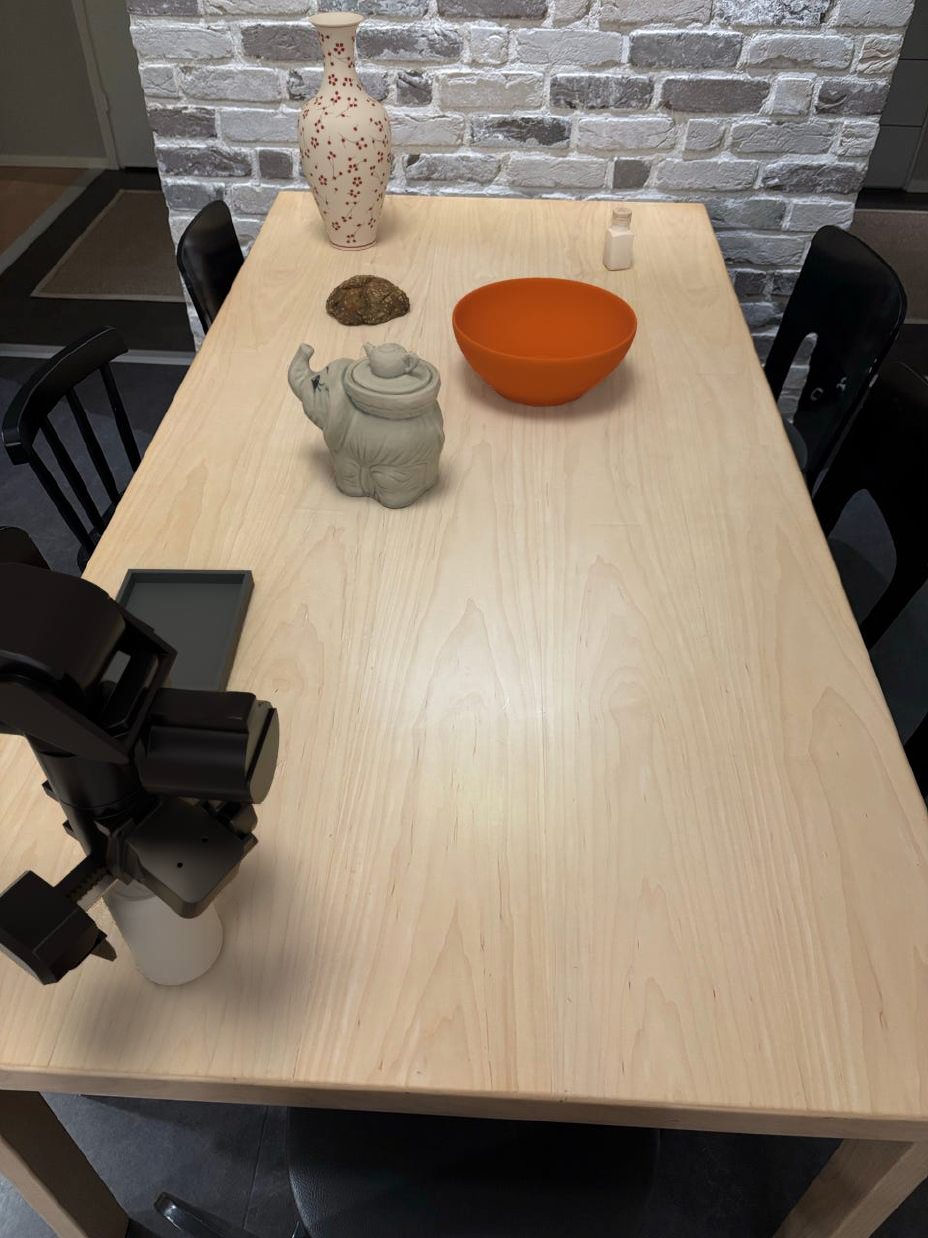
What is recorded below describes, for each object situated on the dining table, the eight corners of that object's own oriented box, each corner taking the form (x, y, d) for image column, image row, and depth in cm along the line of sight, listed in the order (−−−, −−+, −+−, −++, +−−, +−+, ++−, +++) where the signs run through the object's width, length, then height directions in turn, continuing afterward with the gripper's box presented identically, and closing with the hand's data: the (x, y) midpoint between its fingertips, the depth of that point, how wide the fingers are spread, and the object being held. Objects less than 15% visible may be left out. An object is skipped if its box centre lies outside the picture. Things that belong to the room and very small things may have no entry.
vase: (363, 266, 160) (347, 32, 136) (291, 247, 166) (262, 20, 142) (413, 235, 170) (406, 13, 146) (343, 219, 176) (325, 3, 152)
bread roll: (370, 285, 154) (368, 256, 150) (420, 308, 148) (419, 278, 144) (310, 309, 147) (307, 279, 144) (361, 334, 141) (358, 303, 138)
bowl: (571, 328, 143) (576, 265, 136) (663, 403, 126) (674, 336, 119) (424, 361, 135) (422, 295, 128) (501, 446, 118) (504, 376, 112)
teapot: (296, 459, 116) (276, 318, 103) (405, 432, 121) (399, 294, 108) (340, 532, 105) (324, 385, 92) (458, 499, 110) (458, 355, 97)
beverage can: (182, 1007, 65) (142, 924, 57) (119, 961, 68) (72, 875, 60) (242, 936, 69) (213, 849, 61) (181, 895, 72) (145, 806, 63)
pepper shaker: (601, 262, 161) (607, 206, 155) (622, 260, 162) (629, 205, 156) (609, 271, 159) (615, 215, 152) (630, 269, 159) (638, 213, 153)
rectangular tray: (222, 704, 86) (218, 690, 85) (82, 702, 86) (76, 688, 85) (254, 583, 99) (251, 569, 97) (132, 582, 99) (128, 568, 97)
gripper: (66, 970, 44) (142, 1088, 55) (311, 722, 56) (334, 860, 67) (-75, 860, 49) (21, 990, 59) (180, 651, 60) (221, 791, 71)
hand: (161, 903), depth 64 cm, fingers open, 9 cm apart
